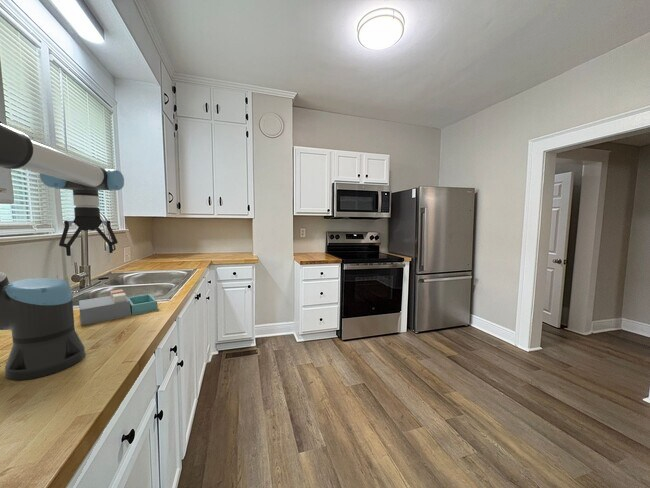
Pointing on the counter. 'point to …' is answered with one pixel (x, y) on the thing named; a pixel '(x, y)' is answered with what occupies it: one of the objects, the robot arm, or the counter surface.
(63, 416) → the counter surface
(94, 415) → the counter surface
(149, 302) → the bin
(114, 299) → the cream tile
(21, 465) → the counter surface
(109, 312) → the grey flat block
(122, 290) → the terracotta tile
